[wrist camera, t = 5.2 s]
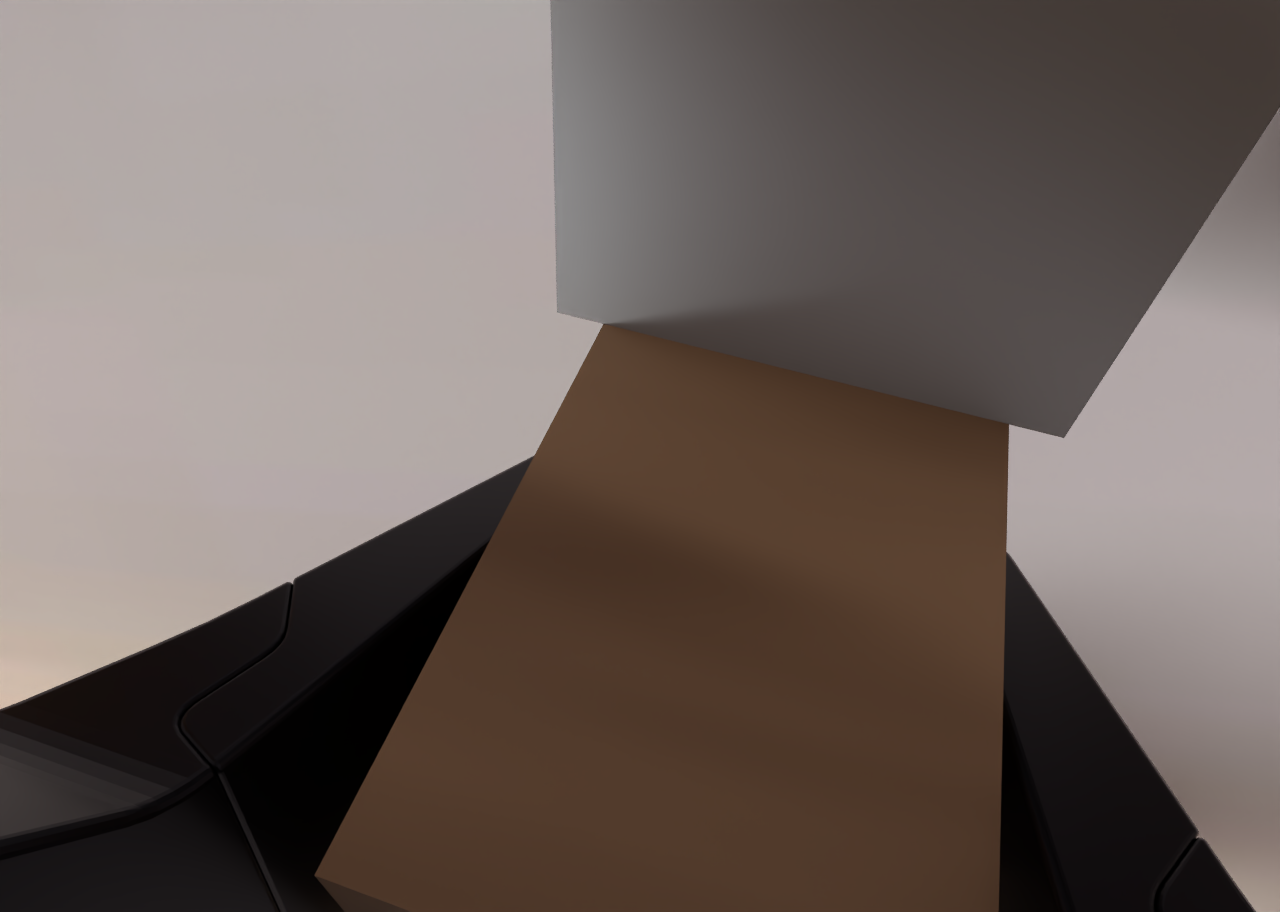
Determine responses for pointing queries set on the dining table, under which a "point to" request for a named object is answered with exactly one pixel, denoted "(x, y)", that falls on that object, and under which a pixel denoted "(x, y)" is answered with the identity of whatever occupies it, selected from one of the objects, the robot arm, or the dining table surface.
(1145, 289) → the bracket
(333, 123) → the dining table surface
